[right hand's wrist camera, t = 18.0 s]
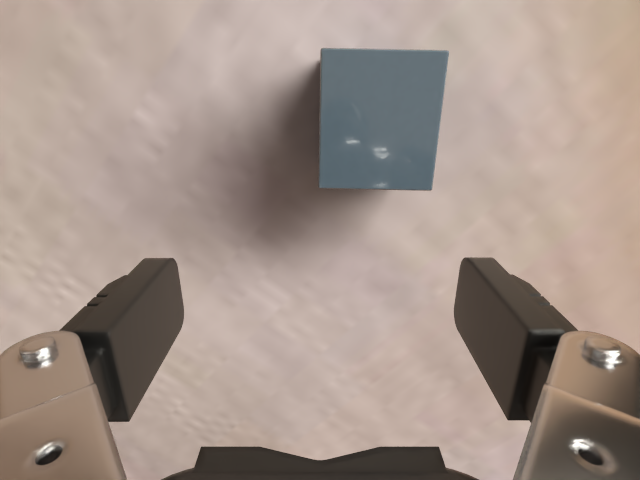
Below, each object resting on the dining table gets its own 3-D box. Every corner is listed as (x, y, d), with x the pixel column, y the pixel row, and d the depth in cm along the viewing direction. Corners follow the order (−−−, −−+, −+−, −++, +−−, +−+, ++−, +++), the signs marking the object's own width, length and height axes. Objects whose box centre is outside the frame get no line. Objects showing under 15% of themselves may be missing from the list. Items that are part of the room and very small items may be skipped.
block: (321, 57, 18) (320, 47, 13) (418, 59, 18) (449, 50, 13) (319, 165, 20) (318, 188, 15) (407, 167, 20) (432, 191, 15)
